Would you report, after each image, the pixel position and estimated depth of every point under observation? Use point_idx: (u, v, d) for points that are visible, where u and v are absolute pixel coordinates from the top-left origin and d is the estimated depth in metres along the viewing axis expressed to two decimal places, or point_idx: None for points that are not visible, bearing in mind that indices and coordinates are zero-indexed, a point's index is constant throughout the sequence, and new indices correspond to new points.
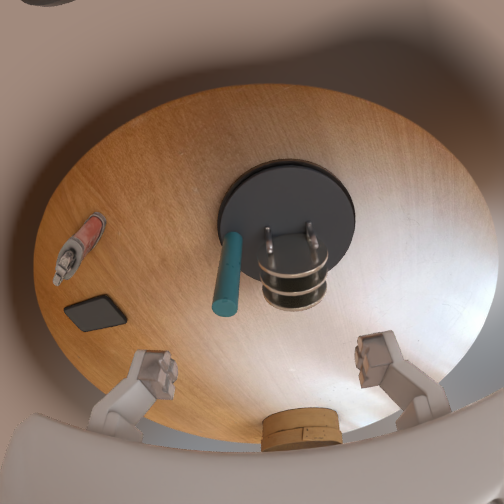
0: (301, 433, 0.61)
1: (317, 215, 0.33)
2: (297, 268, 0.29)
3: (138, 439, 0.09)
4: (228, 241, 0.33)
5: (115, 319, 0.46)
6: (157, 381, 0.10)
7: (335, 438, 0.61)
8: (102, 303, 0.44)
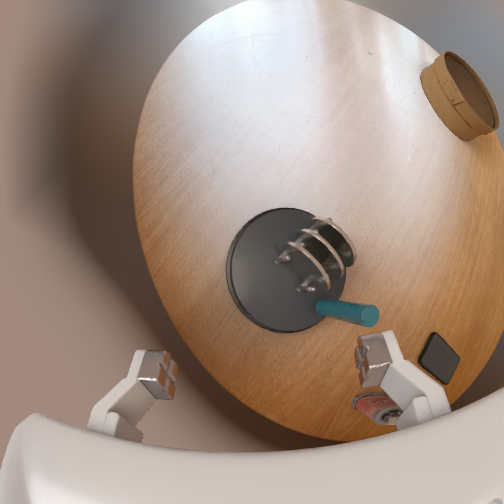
0: (459, 104, 0.44)
1: (265, 259, 0.37)
2: (313, 266, 0.31)
3: (138, 439, 0.09)
4: (325, 315, 0.36)
5: (436, 342, 0.44)
6: (157, 381, 0.10)
7: (443, 66, 0.43)
8: (426, 360, 0.43)
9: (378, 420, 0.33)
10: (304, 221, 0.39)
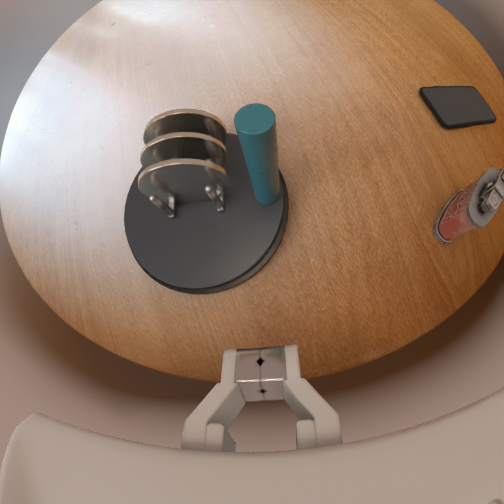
0: None
1: (162, 226, 0.27)
2: (167, 171, 0.20)
3: (233, 448, 0.08)
4: (269, 195, 0.24)
5: (434, 94, 0.28)
6: (259, 381, 0.09)
7: None
8: (449, 118, 0.27)
9: (481, 220, 0.18)
10: None
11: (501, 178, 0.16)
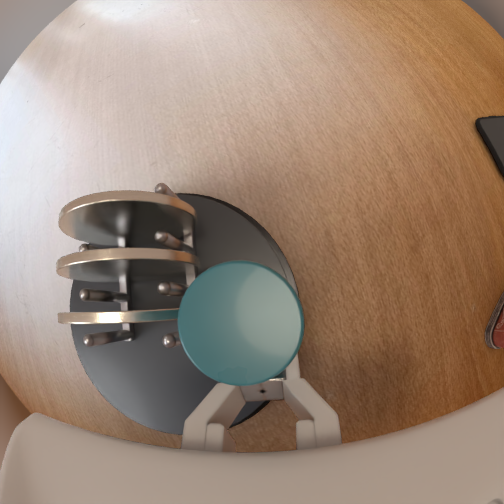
0: None
1: (119, 349, 0.17)
2: None
3: (233, 448, 0.08)
4: None
5: (492, 129, 0.18)
6: None
7: None
8: None
9: None
10: None
11: None
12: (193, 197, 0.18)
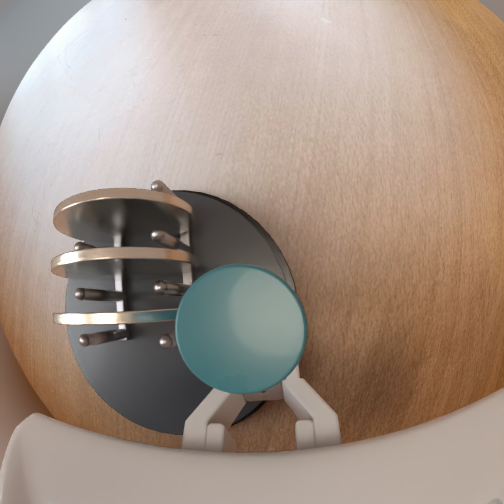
0: None
1: (115, 348, 0.17)
2: None
3: (234, 449, 0.08)
4: None
5: None
6: None
7: None
8: None
9: None
10: None
11: None
12: (190, 194, 0.18)
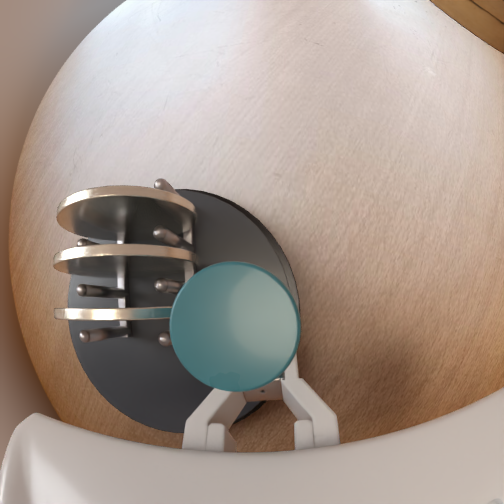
0: None
1: (116, 345, 0.17)
2: None
3: (234, 449, 0.08)
4: None
5: None
6: None
7: None
8: None
9: None
10: None
11: None
12: (194, 193, 0.18)
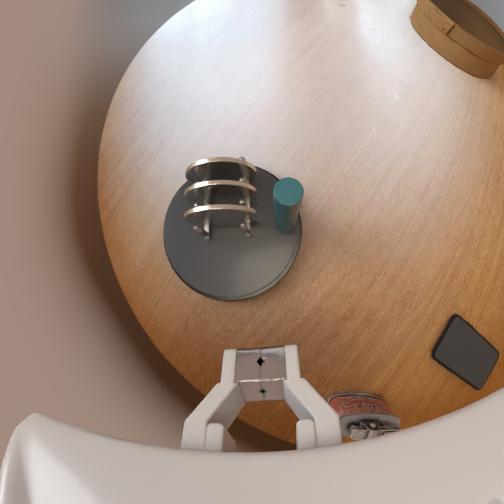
0: (451, 31, 0.28)
1: (199, 245, 0.34)
2: (212, 212, 0.27)
3: (233, 448, 0.08)
4: (288, 229, 0.31)
5: (459, 329, 0.30)
6: (259, 381, 0.09)
7: None
8: (443, 354, 0.30)
9: (342, 429, 0.24)
10: None
11: (383, 432, 0.22)
12: None
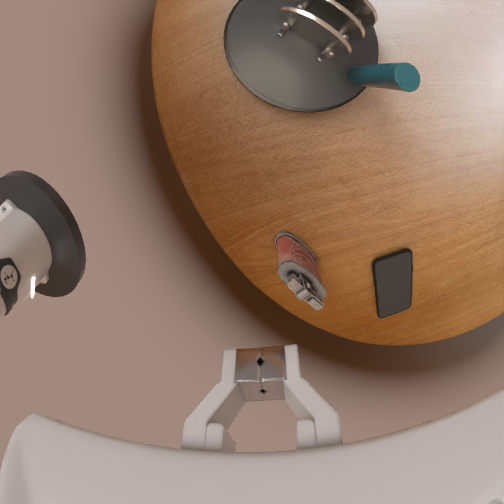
0: None
1: (267, 35, 0.23)
2: (317, 26, 0.17)
3: (233, 449, 0.08)
4: (359, 84, 0.24)
5: (404, 262, 0.40)
6: (259, 382, 0.09)
7: None
8: (381, 268, 0.41)
9: (282, 272, 0.34)
10: None
11: (312, 297, 0.33)
12: None
